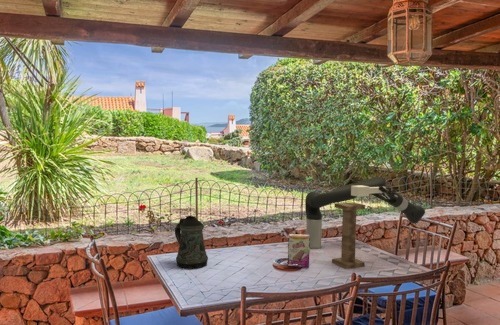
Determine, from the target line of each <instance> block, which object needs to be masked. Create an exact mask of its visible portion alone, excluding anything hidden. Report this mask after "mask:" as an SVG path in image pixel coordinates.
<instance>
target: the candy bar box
mask: <svg viewBox="0 0 500 325" xmlns="http://www.w3.org/2000/svg"><path fill="white" fill-rule="evenodd" d="M287 239H288V242H287V245H288V246H287V265H288V264H298V265H301V266H302V267H301V268H303V269H304V268H306V269H307V268H309V267H310V249H311V248H310V235H305V234H301V233H299V234H296V233H289V234H288V238H287Z"/></svg>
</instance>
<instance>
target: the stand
mask: <svg viewBox="0 0 500 325" xmlns="http://www.w3.org/2000/svg"><path fill="white" fill-rule="evenodd" d="M334 208H335V209H340V210H342V218H341V219H342V224H341V228H342V229H341V255H340V256H341V257H337V258H336V257H335V258H332V259H331V263H332V264H334V265H336V266H338V267H341V268H344V269H345V270H349V269H354V268H360V267H365V264H366V261H362V260H360V259H357V258H356V243H357V242H356V236H357V210H366V204H362V203H359V202H354V201H353V202H349V201H348V202H337V203H334Z"/></svg>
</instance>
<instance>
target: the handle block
mask: <svg viewBox="0 0 500 325" xmlns="http://www.w3.org/2000/svg"><path fill="white" fill-rule="evenodd" d="M383 188H385V189H387V187H386V186H385V187H383ZM372 193H384V192H382V191H380V190H379V187H369V186H363V185H357V186H351V195H352V196H357V197H358V198H360V197H361V198H362V197H363V198H364V197H370V194H371V195H372ZM357 197H356V198H357Z"/></svg>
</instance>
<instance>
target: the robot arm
mask: <svg viewBox="0 0 500 325" xmlns="http://www.w3.org/2000/svg"><path fill="white" fill-rule="evenodd" d="M357 185H363V186H369V187H379V190H380V191H382V192H384V193H372V194H371V195H372V196H374V197H375V198H377V199H379V200H381V201H383V202H386V203H387V204H389V205H390V206H391V207H393V208H394V209H396V210H398V211H400V212H401V213H402V214H404V215H405V217H406V219H407V220H408V222H410V224H415V225H416V224H418V223H419V222H420V220H421V219H422V218H423V217H424V215H425V214H426V210H425V208H424V207H422V206H421V205H417V204H415V203H412V202H410V201H408V200H407V199H406V198H405V197H404V196H403V195H401V194H400V193H399V192H396V191H393V190H391V189H387V188H386V189H385V188H383V187H386V185H387V182H386V179H385V178H384V177H381V176H376V177H375V176H374V177H371V178H367V179H365V180H362V181H358V182H355V183H351V184H346V185H342V186H341V185H340V186H339V187H336V188H335V189H333V190H331V191H328V192H316V191H309V192H308V193H307V194H306V196H305V201H304V202H305V203H304V204H305V206H304V209H305V216H306V223H305V224H306V226H305V227H306V228H305V229H306V230H305V229H304V235H310V249H321V248H322V231H323V230H322V228H323V227H322V226H323V221H322V220H323V214H322V213H321V212H322V211H321V208H323V207H326V206H328V205H329V206H330V205H331V204H336V203H343V202H346V201H352V200H355V199H356V198H357V196H352V195H351V186H357Z"/></svg>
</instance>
